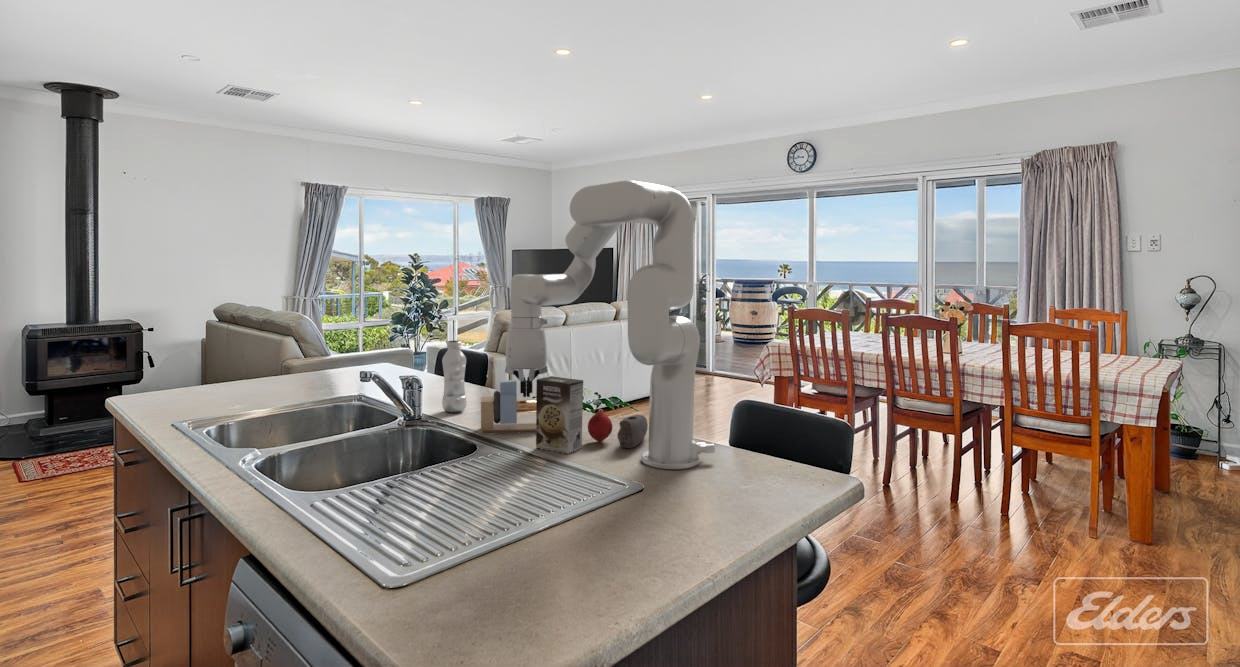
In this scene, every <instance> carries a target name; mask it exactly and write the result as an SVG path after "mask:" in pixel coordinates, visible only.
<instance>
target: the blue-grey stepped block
mask: <svg viewBox="0 0 1240 667" xmlns="http://www.w3.org/2000/svg"><path fill="white" fill-rule="evenodd" d="M499 389H500V391H499V392H500V422H499V424H518V423H517V420H518V416H517V414H518V413H517V401H518V399H517V398H518V397H517V380H516V379H510V380H508V379H507V380H506V379H505V380H500V381H499Z"/></svg>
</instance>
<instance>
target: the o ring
mask: <svg viewBox="0 0 1240 667" xmlns="http://www.w3.org/2000/svg"><path fill="white" fill-rule="evenodd" d="M493 397H494V424H500V391H499V390H495V391H494V392H493Z"/></svg>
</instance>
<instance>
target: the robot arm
mask: <svg viewBox="0 0 1240 667" xmlns="http://www.w3.org/2000/svg"><path fill="white" fill-rule="evenodd" d="M569 213H570V217H571V218H572V221H574V222H575V223H574V224H573V226H572V227H571V228H570V230H569V231H568V232H567V234H566V236H565V239H564V240H565V245H566V247H567V248H568V250H569V251H570V252H571V254H573V255H574V258H573V260H572V262H571V263H570V264H569V266H568V268H567V269H566V270H565V271H564V272H563V273H550V274H549V273H548V274H547V273H546V274H545V273H543V274H533V273H531V274H528V273H526V274H525V273H523V274H522V273H521V274H519V273H518V274H514V275H513V276H512V277H511V280H510V304H511V305H510V318H511V319H510V325H511V326H510V328H508V329H507V335H506V340H505V341H506V344H505V345H506V346H505V364H506V365H505V368H504V373H506V374H508V375H514V376H515V377H516V378H517V379H518V380H519V382H520V384H519V389H520V390H519V391H520V394H522V397H523V398H526V397H527V398H530V397H531V394H533V381H534V380H535V379H536V378H537V377H538V376H539V375H543V374H545V373H548V371H549V370H548V365H547V364H548V356H547V355H548V354H547V340H546V332H545V329H544V328H543V326H544V325H548V319H545V318H543V317H542V313H543V312H542V309H543V308H542V307H543V306H546V307H547V306H554V305H556V306H557V305H558V306H559V305H568V304H571V303H573V302H574V301H576V300H577V299H578V298H579V297H580V296H581V295H582V294H583V293H584V291H585V290H586V289H587V288H588V286H589V285H590V284H591V282H592V280H593V278H594V275H595V272H596V271H595V270H596V268H597V267H596V265H597V264H596V262H597V260H596V258H597V257H598V256H599V254H600V253H601V252H602V251H603V249H604V248H605V246H606V245H607V244H608V242H609V241H610V240H611V238H612V237H613V236H614V235H615V233H616V232H617V231H618V229H619V228H620V227H621V225H622V224H624V223H631V224H633V223H635V224H643V225H644V224H646V225H655V226H657V229H656V232H655V234H654V238H653V243H652V264H647V265H643V266H641V267H639V268H638V269H636V271H635V272H634V273H633V275H632V276H631V278H630V281H629V283H628V287H627V298H626V299H627V343H628V347H629V350H630V353H631V355H632V357H633V358H634V359H635V360H636V361H637V362H638V363H640V364H642V365H645V366H652V367H651V368H652V369H651V373H650V380H649V381H650V382H649V406H648V407H649V409H648V411H649V413H648V415H649V417H648V418H649V419H648V450H645V451H643V452H642V453H641V456H640V457H641V460H640V461H641V462H642V463H643V464H644V465H647V466H649V467H652V468H657V469H662V470H663V469H664V470H665V469H666V470H686V469H690V468H693V467H696V466H698V465H699V464H700V460H701V459H700V455H701V454H703V453H705V454H714V453H715V450H716V449H715V445H714V443H706V442H704V441H703V442H696V441H695V440H694V418H695V417H694V416H695V413H694V412H695V411H694V410H695V388H696V387H695V386H696V384H695V383H696V369H697V362H698V357H699V353H700V352H699V350H700V344H701V337H700V332H699V329H698V327H697V326H696V324H695V322H693V321H692V320H690V319H689V318H688V317H685V316H682V315H670V311H672V310H679V309H682V308H685V307H686V306H687V305H689V304H690V302H692V299H693V296H694V287H695V286H694V274H695V273H694V232H695V230H694V229H695V226H694V225H695V218H694V217H695V214H694V210H693V207H692V205H691V202H690V201H689V200H688V198H687V197H686V196H685V195H684V194H683V193H682V192H680V191H679V190H677V189H674V188H672V187H669V186H666V185H661V184H658V183H652V182H646V181H645V182H644V181H641V180H640V181H639V180H628V179H627V180H626V179H625V180H618V181H613V182H608V183H602V184H601V183H599V184H595V185H594V184H593V185H587V186H584V187H582V188H580V189H579V190H577V192H575V193H574V195H573V197H572V198H571V200H570V204H569ZM524 370H529V371H528V372H529V373H528V377H527V380H526V377H525V376H524Z"/></svg>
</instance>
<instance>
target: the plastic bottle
mask: <svg viewBox="0 0 1240 667" xmlns="http://www.w3.org/2000/svg"><path fill="white" fill-rule="evenodd" d="M461 344H462V341H461V340H447V341H446V349H447V351H446V352H445V353H444V354H443V356H442V359H441V360H442V362H441V363H442V369H443V370H442V371H443V378H444V381H443V383H444V386H443V395H442V400H441V401H442V402H441V404H442V409H443V411H445V412H449V413H453V414H454V413H459V412H463V411H464V410H465V409H466V408H467V396H466V391H465V378H466V377H465V375H466V365H467V356H466V355H465V354H464V352H462V350H461V349H462V345H461Z"/></svg>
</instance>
